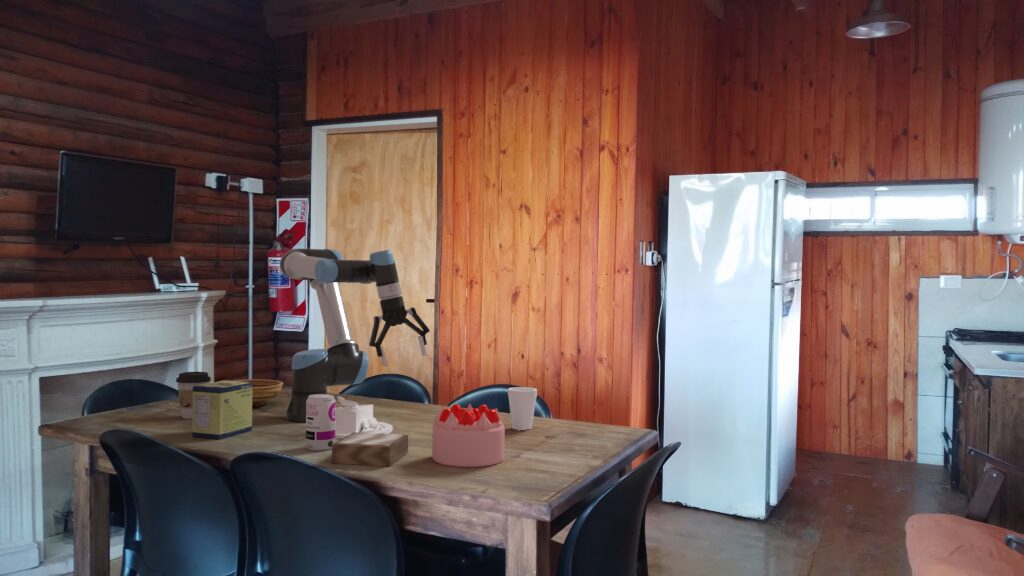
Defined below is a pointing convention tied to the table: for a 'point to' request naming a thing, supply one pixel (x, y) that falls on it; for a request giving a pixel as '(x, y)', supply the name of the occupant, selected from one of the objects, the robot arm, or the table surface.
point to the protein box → (222, 409)
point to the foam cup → (522, 406)
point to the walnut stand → (370, 449)
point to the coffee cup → (189, 390)
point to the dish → (357, 420)
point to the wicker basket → (263, 390)
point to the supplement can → (320, 422)
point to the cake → (468, 437)
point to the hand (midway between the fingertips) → (405, 360)
